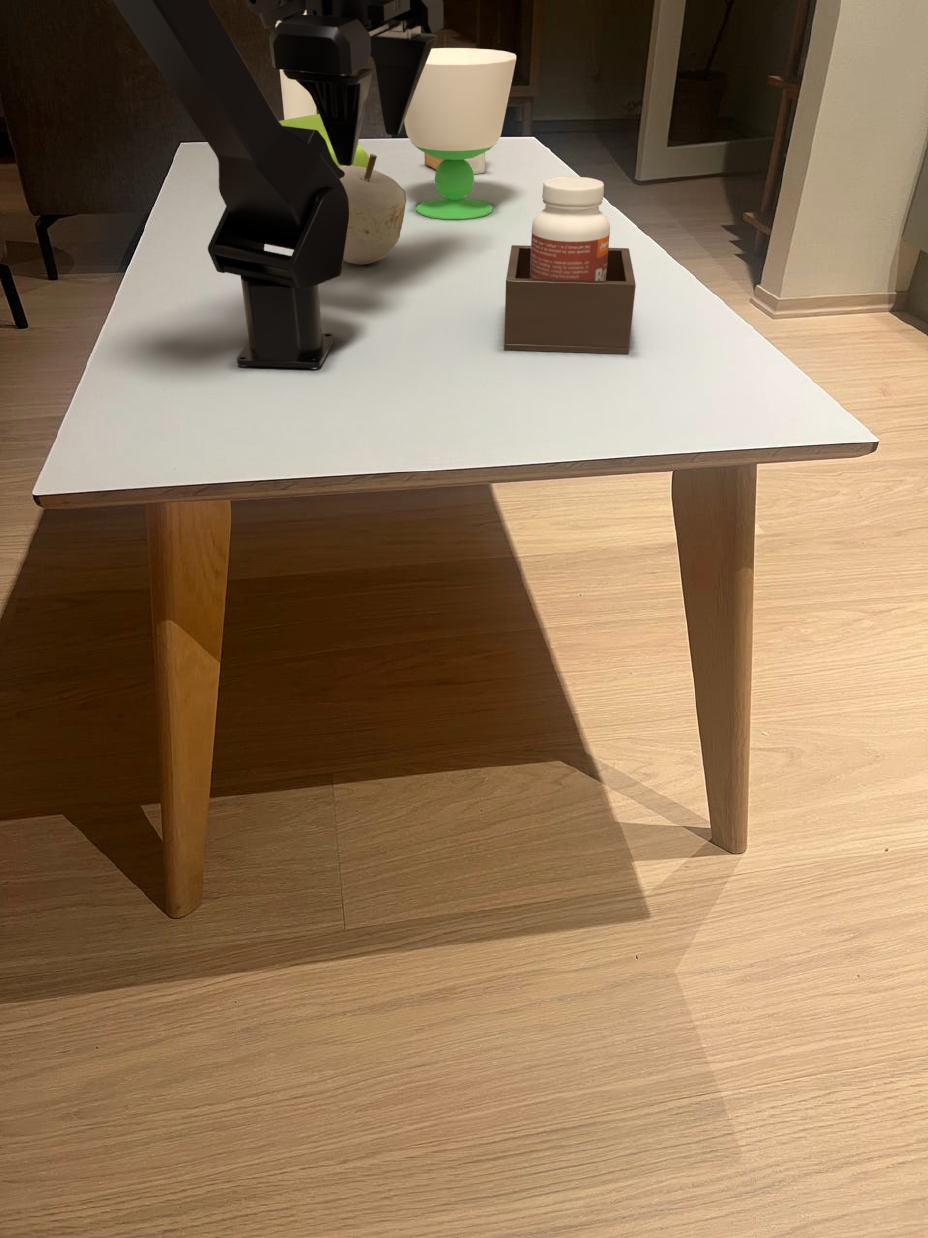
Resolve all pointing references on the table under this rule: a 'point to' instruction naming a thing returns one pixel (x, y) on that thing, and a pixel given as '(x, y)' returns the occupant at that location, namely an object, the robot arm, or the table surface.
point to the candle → (295, 97)
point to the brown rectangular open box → (569, 308)
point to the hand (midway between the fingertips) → (370, 148)
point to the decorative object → (371, 213)
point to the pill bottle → (570, 231)
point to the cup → (459, 121)
